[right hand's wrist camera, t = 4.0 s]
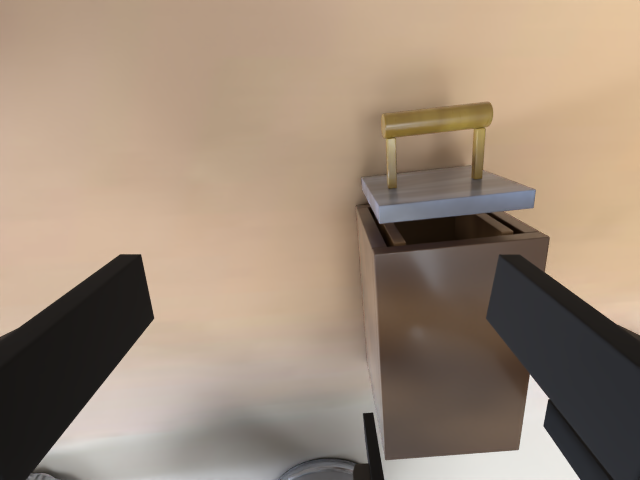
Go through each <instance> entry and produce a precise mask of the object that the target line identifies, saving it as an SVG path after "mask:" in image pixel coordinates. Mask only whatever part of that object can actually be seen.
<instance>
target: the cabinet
mask: <svg viewBox="0 0 640 480" xmlns="http://www.w3.org/2000/svg"><path fill="white" fill-rule="evenodd" d="M486 214H487V215H489V216H490V217H492V218H493V219H495V220H497V221H498V222H500V223H501V224H503V225H505V226H506V227H508V228H509V229H511V230H512V231H513V235H503V236H493V237H483V238H473V239H463V240H453V241H443V242H433V243H423V244H413V245H403V246H393V247H387V246H386V244H385V242H384V240H383V238H382V236H381V234H380V232H379V230H378V228H377V225H376V223H375V217H374V212H373V210H372V208H371V206H370V204H366V205H357V206H356V217H357V231H358V245H359V258H360V272H361V286H362V299H363V313H364V327H365V340H366V354H367V365H368V370H369V376H370V381H371V386H372V392H373V397H374V402H375V407H376V413H377V418H378V423H379V429H380V434H381V439H382V445H383V450H384V455H385V460H394V459H407V458H420V457H434V456H447V455H460V454H473V453H486V452H499V451H512V450H519V444H520V438H521V431H522V424H523V417H524V410H525V403H526V396H527V390H528V383H529V376H530V373H529V372H528V371H527V370H526V368H525V367H524V366H523V365H522V363H521V362H520V361H519V360H518V358H517V357H516V356H515V355H514V353H513V352H512V351H511V350H510V348H509V347H508V346H507V344H506V343H505V342H504V341H503V339H502V338H501V337H500V336H499V334H498V333H497V332H496V331H495V329H494V328H493V327H492V326H491V324H490V323H489V322H488V321H487V319H486V315H487V310H488V305H489V300H490V296H491V291H492V286H493V281H494V276H495V271H496V266H497V262H498V257H499V254H520V255H521V256H523V257H524V258H525V259H527V260H528V261H530V262H531V263H532V264H534V265H535V266H536V267H538V268H539V269H541V270H542V271H543V272H545V266H546V259H547V252H548V245H549V236H547V235H545V234H543V233H541V232H539V231H538V230H536V229H534V228H532V227H531V226H529V225H527V224H525V223H523V222H522V221H520V220H518V219H516V218H514V217H513V216H511V215H509V214H507V213H505V212H504V211H500V212H490V213H486Z"/></svg>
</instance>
